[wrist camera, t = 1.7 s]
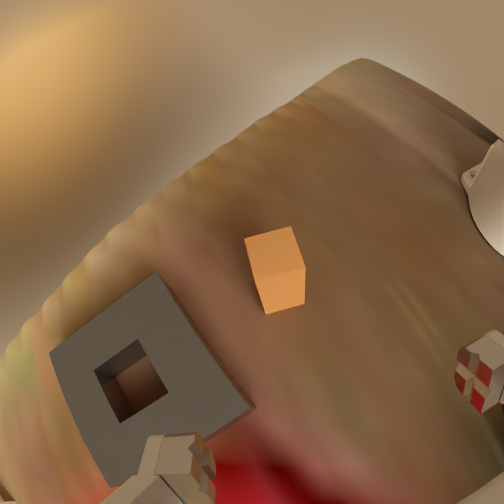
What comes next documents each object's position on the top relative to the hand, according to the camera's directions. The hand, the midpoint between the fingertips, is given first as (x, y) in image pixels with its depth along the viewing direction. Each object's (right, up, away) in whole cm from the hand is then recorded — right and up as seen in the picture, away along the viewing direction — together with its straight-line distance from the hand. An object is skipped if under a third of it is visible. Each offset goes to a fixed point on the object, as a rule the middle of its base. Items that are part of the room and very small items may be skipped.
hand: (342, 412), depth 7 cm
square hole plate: (-13, -9, +20) cm, 26 cm away
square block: (0, +1, +24) cm, 24 cm away
